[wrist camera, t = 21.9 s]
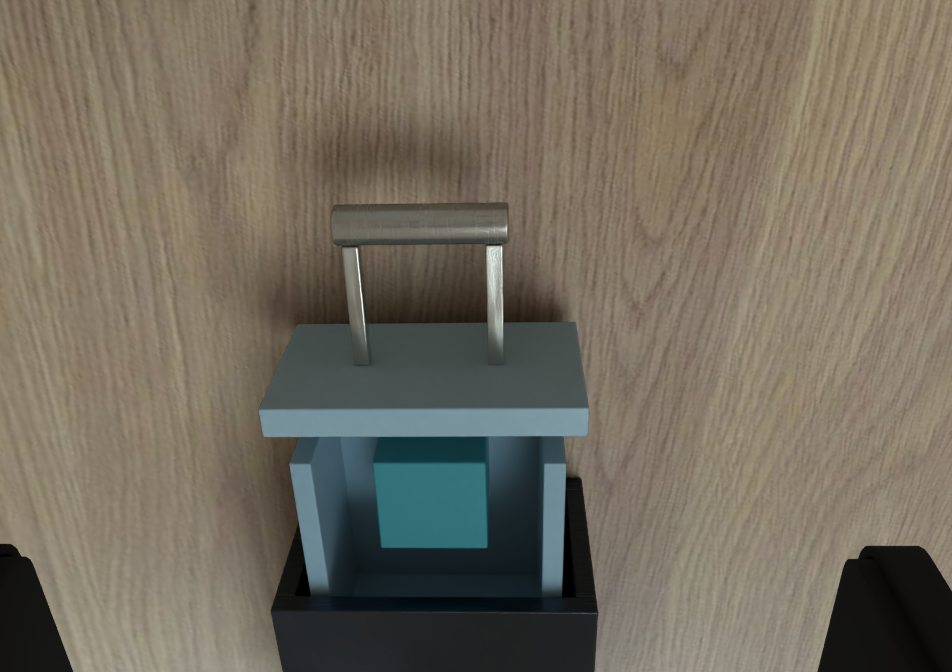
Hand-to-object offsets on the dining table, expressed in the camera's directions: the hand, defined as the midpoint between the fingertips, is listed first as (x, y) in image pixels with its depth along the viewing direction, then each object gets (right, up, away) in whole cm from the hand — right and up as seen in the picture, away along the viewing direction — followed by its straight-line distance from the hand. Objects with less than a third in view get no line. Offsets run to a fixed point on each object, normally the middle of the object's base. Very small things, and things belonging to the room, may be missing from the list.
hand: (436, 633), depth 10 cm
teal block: (-1, -1, +26) cm, 26 cm away
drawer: (-1, +1, +26) cm, 26 cm away
